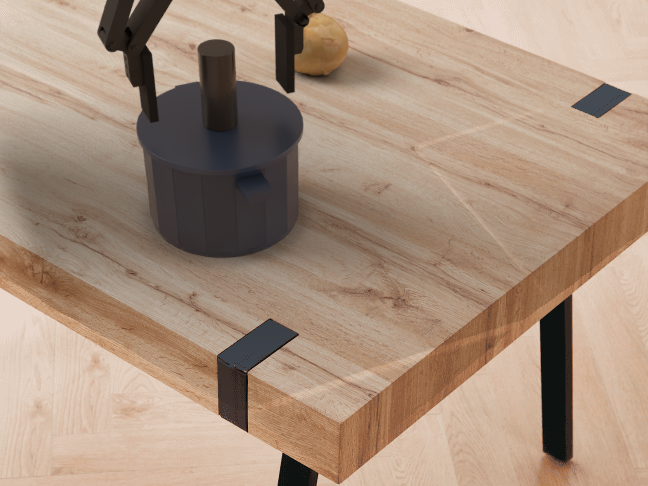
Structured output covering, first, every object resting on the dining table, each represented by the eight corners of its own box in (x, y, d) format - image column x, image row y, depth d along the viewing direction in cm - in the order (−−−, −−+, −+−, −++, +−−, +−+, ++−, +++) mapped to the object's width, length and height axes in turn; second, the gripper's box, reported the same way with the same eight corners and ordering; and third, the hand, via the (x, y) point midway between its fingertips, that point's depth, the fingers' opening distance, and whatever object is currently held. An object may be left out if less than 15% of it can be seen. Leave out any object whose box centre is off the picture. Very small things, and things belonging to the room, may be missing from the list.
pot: (189, 291, 95) (181, 205, 89) (125, 173, 108) (114, 91, 102) (333, 251, 100) (335, 167, 94) (256, 143, 113) (253, 63, 107)
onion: (327, 44, 129) (328, -11, 125) (360, 75, 124) (362, 18, 120) (267, 58, 126) (266, 2, 122) (298, 90, 121) (298, 33, 116)
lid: (167, 197, 91) (158, 108, 85) (117, 109, 100) (105, 24, 95) (329, 158, 96) (331, 72, 90) (266, 78, 106) (264, -4, 100)
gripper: (56, -108, 75) (96, 151, 89) (369, -149, 83) (360, 93, 98) (31, -145, 80) (72, 106, 94) (329, -180, 88) (325, 55, 103)
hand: (219, 100), depth 96 cm, fingers open, 12 cm apart
